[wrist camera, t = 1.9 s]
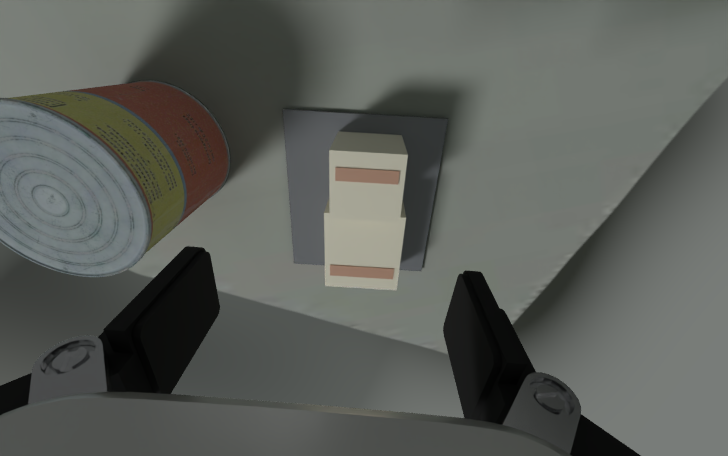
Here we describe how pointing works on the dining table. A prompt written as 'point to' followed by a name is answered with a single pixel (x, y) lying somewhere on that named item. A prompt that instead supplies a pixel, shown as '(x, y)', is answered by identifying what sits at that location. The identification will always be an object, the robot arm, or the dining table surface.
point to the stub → (367, 176)
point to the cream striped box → (363, 252)
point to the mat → (311, 175)
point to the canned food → (104, 173)
